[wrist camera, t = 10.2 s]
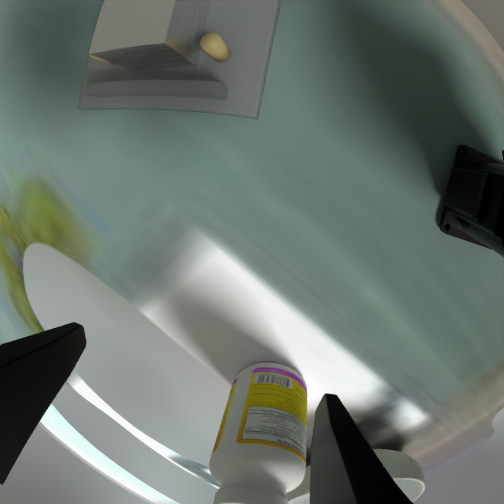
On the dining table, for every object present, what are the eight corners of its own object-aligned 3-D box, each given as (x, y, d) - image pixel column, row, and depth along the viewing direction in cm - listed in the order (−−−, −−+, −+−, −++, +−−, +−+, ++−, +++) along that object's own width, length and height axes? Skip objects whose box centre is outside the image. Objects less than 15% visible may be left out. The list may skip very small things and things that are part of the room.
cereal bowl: (403, 408, 23) (417, 462, 17) (422, 462, 27) (430, 500, 20) (262, 452, 28) (253, 500, 22) (316, 494, 32) (314, 530, 25)
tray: (293, -56, 11) (291, -82, 8) (258, 119, 17) (249, 111, 14) (132, -44, 13) (113, -60, 9) (85, 109, 18) (56, 107, 15)
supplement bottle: (261, 415, 26) (238, 527, 14) (219, 374, 25) (174, 496, 13) (321, 393, 24) (320, 520, 12) (282, 347, 22) (262, 493, 10)
